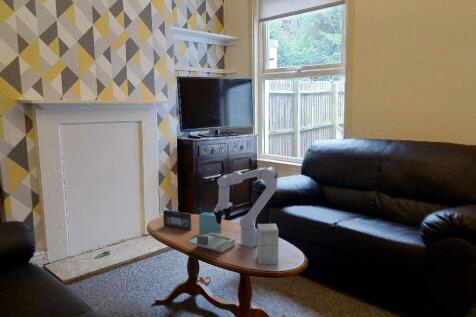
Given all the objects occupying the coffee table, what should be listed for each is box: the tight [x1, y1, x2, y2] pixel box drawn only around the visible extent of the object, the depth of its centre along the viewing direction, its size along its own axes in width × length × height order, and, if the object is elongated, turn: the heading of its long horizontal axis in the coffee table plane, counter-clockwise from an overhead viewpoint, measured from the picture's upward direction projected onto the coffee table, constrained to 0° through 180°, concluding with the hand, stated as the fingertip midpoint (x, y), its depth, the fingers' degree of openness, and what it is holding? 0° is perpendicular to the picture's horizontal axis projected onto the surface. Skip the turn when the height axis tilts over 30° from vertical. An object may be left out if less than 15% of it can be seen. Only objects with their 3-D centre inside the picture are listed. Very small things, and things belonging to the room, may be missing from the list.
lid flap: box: [187, 233, 228, 251], centre depth 191 cm, size 16×12×5 cm
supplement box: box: [256, 223, 279, 265], centre depth 180 cm, size 10×9×17 cm
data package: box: [198, 211, 222, 235], centre depth 214 cm, size 12×4×12 cm, turn 63°
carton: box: [196, 233, 236, 254], centre depth 198 cm, size 16×12×4 cm
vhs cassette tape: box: [162, 209, 192, 232], centre depth 225 cm, size 18×3×10 cm, turn 64°
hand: (222, 221), depth 205 cm, fingers open, 7 cm apart
